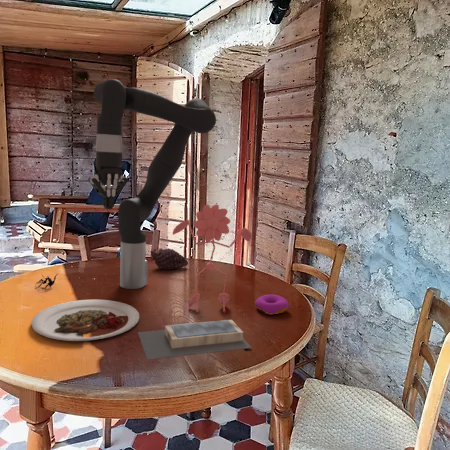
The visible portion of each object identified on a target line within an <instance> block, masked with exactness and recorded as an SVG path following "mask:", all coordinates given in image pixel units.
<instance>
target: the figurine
mask: <svg viewBox="0 0 450 450" xmlns="http://www.w3.org/2000/svg"><path fill="white" fill-rule="evenodd" d="M228 212H229V211H228V209H226V208H220V206H219V204H214V205H212V206H211V207H210V205H208V204H205V205H204V206H203V208H202V212H201V211H196V214H195V215H196V219H197V220H195V221H194V222H192V224H193V227H194V228H196V229H197V230H196V233H195V234H196V236H198V237H204V241H200V242H197V240H196V238H195V235H194V233H193V229H192V226H191V224H190V220H189V219H186V220H183V221H182V222H180V223H178V224H177V225H176V226H175V227H174V228H173V229H172V230H173V231H172V235H174V236H175V235H176V234H178V233H180V232H182V231H183V230H185V229H186V228H187V227H188V229H189V230H190V234H191V237H192V239H193V243H194V245H196V246H197V245H203V244H211V245H212V247H213V248H212V252H211V255H210V260H209V262H207V263H206V265H205V267H204V268H203V269H202V270H201V271H199V272H198V273H197V274H196V275H195V277H194V281H195V284H194V285H195V286H194V287H195V288H194V289H195V292H194V293H195V294H194V295H193V296H192V297H191V299H190V298H189V301H188V308H191V307H192V306H194V305H196V306H195V307H196V308H195V309H196V313H199V300H200V297H201V294H200V293H197V291H198V290H197V277H198V276H199V275H200V274H202V272H204V271H205V270H208V271H213V270H214V269H215V270H217V271H218V272H220V273H221V274H223V275H225V279H224V286H223V292H222V293H219V295H218V302H219V303H221V304H222V306H223V307H222V308H223V312H224V311H225V312H226V305H227V304H228V303H229V302H230V298H231V297H230V295H229V293H227V292H226V291H225V290H226V284H227V279H228V274H227V273H226V272H224V271H222V270H220V269H218V268H217V267H215V264H214V263H213V262H212V259H213V256H214V253H215V250H216V246H215V244H217V245H219V246H222V247H226V248H229V249H231V248H232V246H233V245H234V244H235V243H236V241H237V240H238V239H239V238H240V237H242V239H244V240H245V241H246V242H250V241H251V240H252V238H253V237H252V236H253V234H252V232H251V231H250V230H249V229H248V228H246V227H243V228H241V229H240V232H239V234H238V235H237V236H236V237H235V239H234V240H233V241H232V242H231V244H230V245H226V244H224V243H220V242H218V241H220V240H221V238H222V234H225V235H227V234H229V233H230V228H229V226H228V225H230V223H231V219H230V217H229V218H228V216H227V214H228ZM177 303H178V304H179V303H180V301H179V302H177ZM225 304H226V305H225Z"/></svg>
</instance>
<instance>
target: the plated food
mask: <svg viewBox="0 0 450 450" xmlns="http://www.w3.org/2000/svg"><path fill="white" fill-rule="evenodd" d="M124 316H125V317H128V318H127V322H126V324H125V325H124V326H123V327H121V328H119V326H121V325H122V324H123V323H124V322H125V320H124V318H123V317H124ZM139 320H140V312H139V311H138V310H137V309H136V308H135V307H134V306H132V305H129V304H127V303H124V302H122V301H116V300H110V299H79V300H72V301H67V302H66V301H65V302H62V303H58V304H55V305H52V306H51V305H50V306H49V307H47V308H44V309H43V310H41V311H39V312H38V313H36V314H35V315H34V316H33V318H32V320H31V327H32V329H33V331H34V332H36V333H37V334H39V335H41V336H44V337H46V338H49V339H53V340H59V341H60V340H61V341H69V342H71V341H72V342H82V341H85V342H87V341H95V340H100V339H101V340H102V339H106V338H111V337H114V336H118V335H121V334H123V333H125V332H127V331H129V330H131V329H133V328H134V327H135V326H136V325H137V324H138V323H139ZM117 328H119V329H117ZM107 329H117V330H115V331H112V332H109V333H105V334H101V335H94V336H86V337H85V336H84V335H86V334H88V333H93V332H96V331H99V330H107Z"/></svg>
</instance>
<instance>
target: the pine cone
mask: <svg viewBox="0 0 450 450" xmlns="http://www.w3.org/2000/svg"><path fill="white" fill-rule="evenodd" d="M149 253H150V256H151V259H150V261H152V262H154V263H155V265H156V266H157V268H158V269H161V270H163V271H167V270H178V269H181V268H184V267H187V266H188V265H189V262H188V260H187V258H186V257H185V256H184V255H182V254H180V253H179V252H178V251H176V250H174V249H173V248H164V249H163V248H158V250H157V249H156V248H154V249H153V250H152V251H149Z"/></svg>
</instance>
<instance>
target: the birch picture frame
mask: <svg viewBox="0 0 450 450" xmlns="http://www.w3.org/2000/svg"><path fill="white" fill-rule="evenodd" d="M164 330H165V335H166V337H167V339H168V341H169V343H170V345H171V347H172V348H180V347H190V346H199V345H208V344H217V343H227V342H236V341H243V338H244V331H243V330H242V329H241V328H240V327H239V326H238V325H237V324H236V323H235V321H233V319H223V320H212V321H200V322H190V323H180V324H179V323H177V324H168V325H166V324H165V326H164Z"/></svg>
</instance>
